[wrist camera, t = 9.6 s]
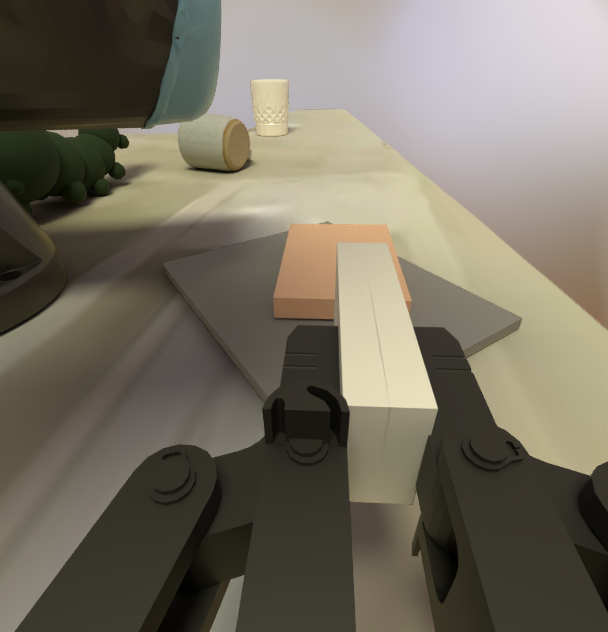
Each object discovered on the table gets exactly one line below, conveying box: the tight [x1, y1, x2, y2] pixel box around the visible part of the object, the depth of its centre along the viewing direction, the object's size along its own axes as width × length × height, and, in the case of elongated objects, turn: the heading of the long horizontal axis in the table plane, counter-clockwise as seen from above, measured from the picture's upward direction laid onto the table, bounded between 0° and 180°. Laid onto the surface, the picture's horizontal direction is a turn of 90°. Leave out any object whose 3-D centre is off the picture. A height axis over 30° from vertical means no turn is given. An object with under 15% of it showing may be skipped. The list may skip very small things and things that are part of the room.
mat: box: [162, 222, 522, 403], centre depth 27 cm, size 20×16×1 cm
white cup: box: [250, 80, 289, 137], centre depth 82 cm, size 8×8×10 cm
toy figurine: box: [0, 128, 129, 215], centre depth 40 cm, size 9×19×25 cm
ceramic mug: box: [178, 113, 251, 171], centre depth 58 cm, size 11×8×8 cm
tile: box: [273, 224, 412, 319], centre depth 28 cm, size 2×8×12 cm
